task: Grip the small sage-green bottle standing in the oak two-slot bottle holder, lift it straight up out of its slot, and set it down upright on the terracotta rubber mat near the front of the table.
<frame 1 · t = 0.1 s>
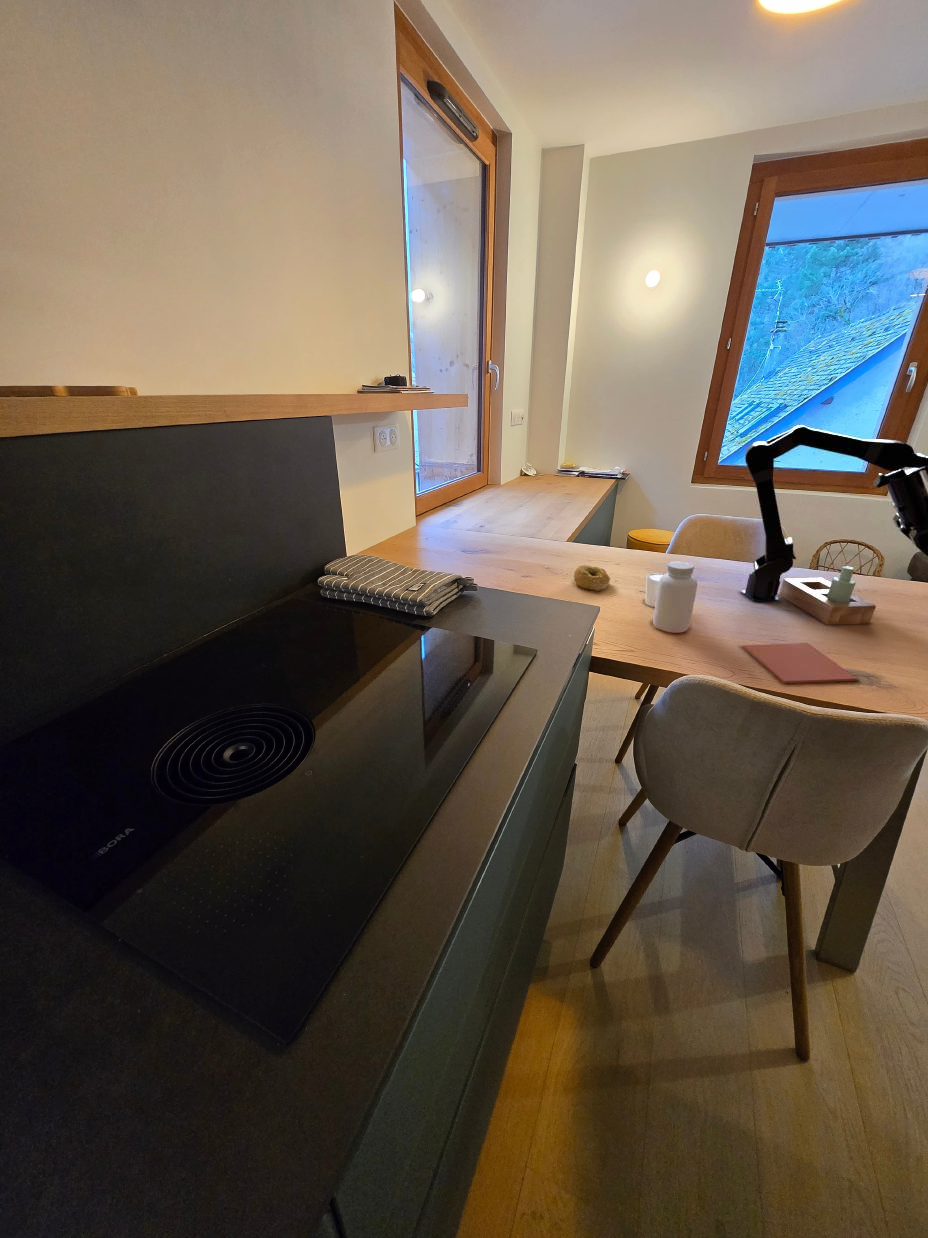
bagel: (591, 585, 138), on the table
mat: (796, 663, 99), on the table
bottle: (832, 614, 118), resting in holder
holder: (821, 608, 122), on the table
shot glass: (656, 603, 126), on the table
pill bottle: (670, 626, 114), on the table
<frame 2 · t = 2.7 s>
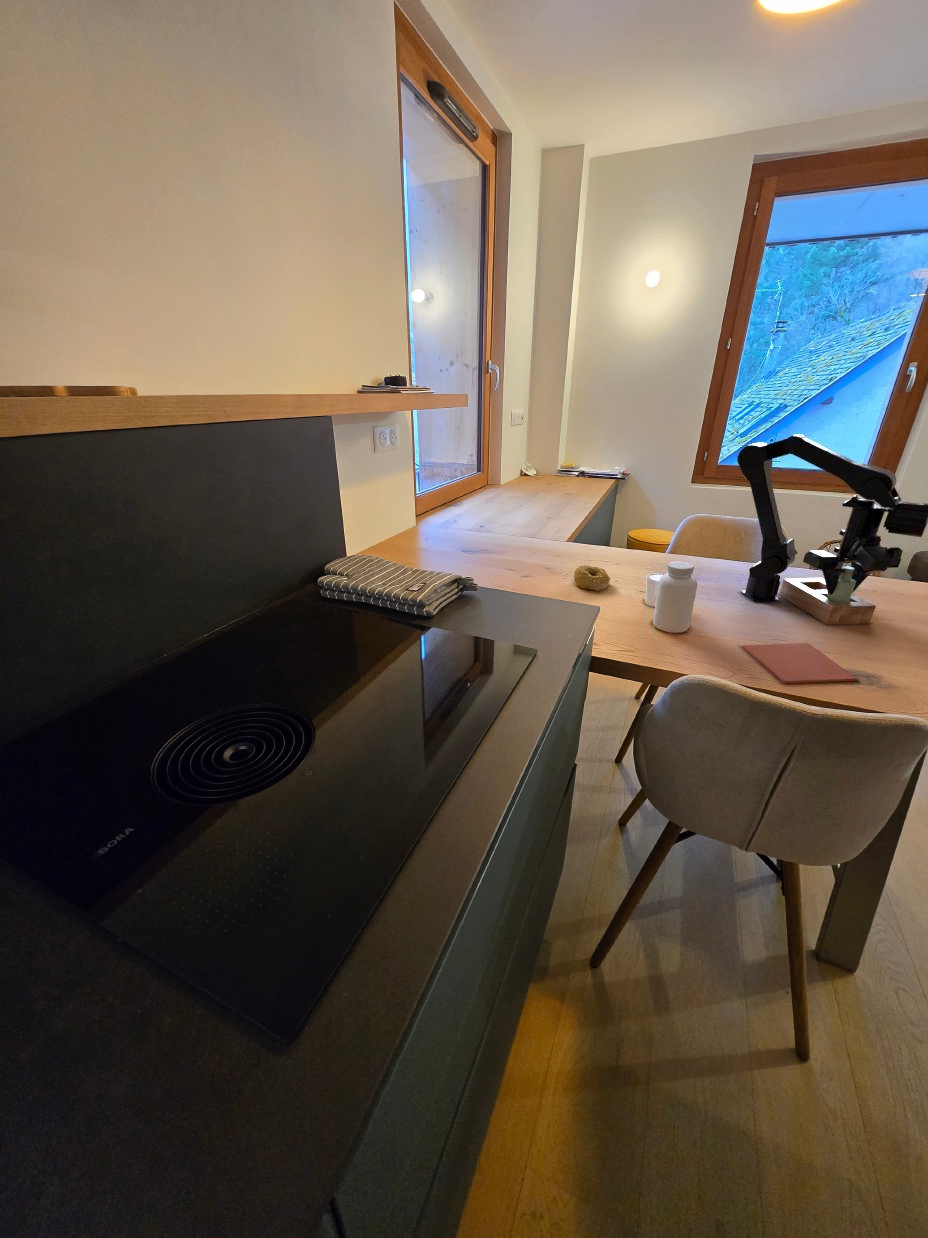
hand: (839, 593, 116), 6 cm above the table, tool pointing down, fingers closed on bottle, 4 cm apart
bottle: (832, 614, 118), resting in holder, touching gripper
everything else where it was.
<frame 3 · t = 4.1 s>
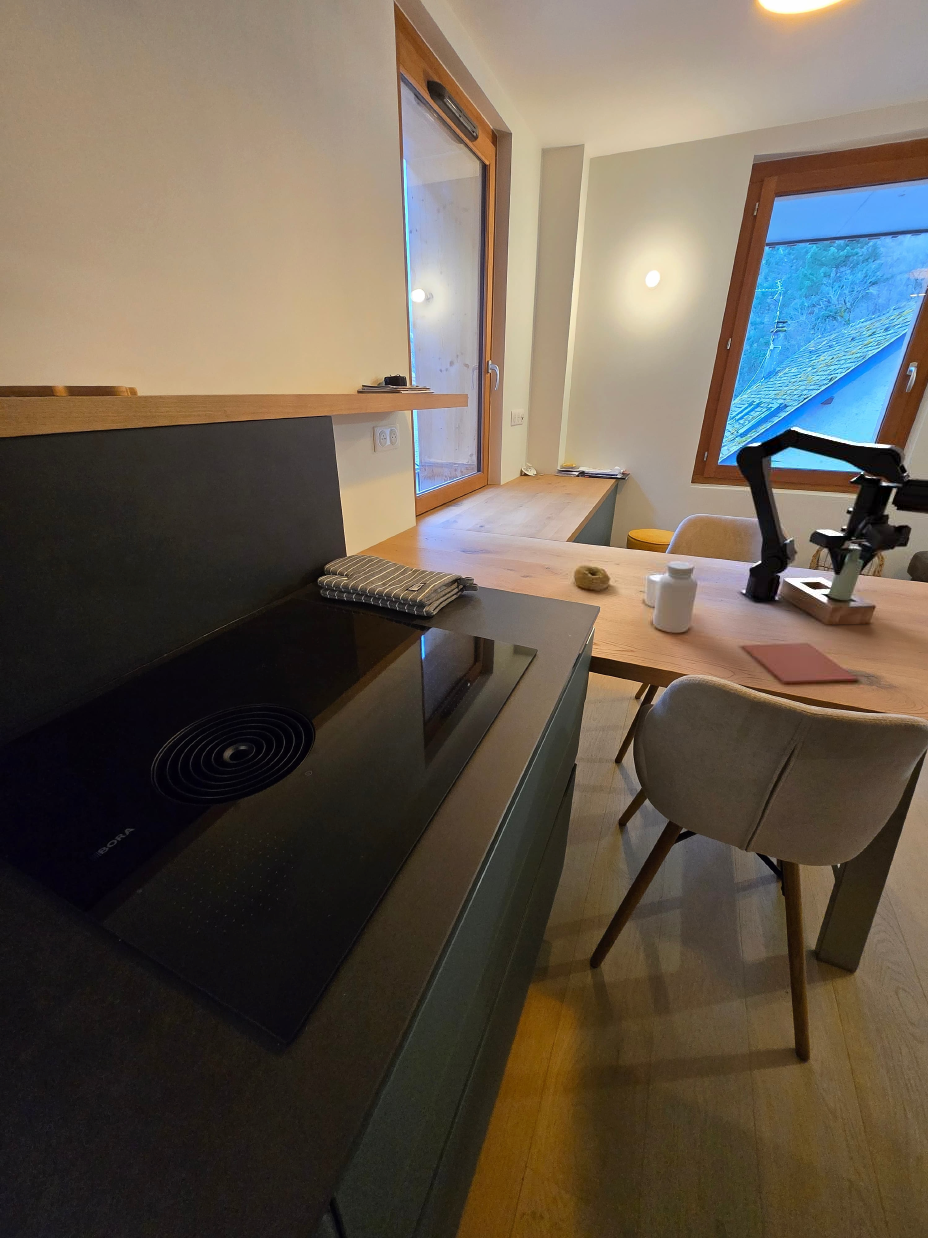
hand: (846, 574, 114), 10 cm above the table, tool pointing down, fingers closed on bottle, 4 cm apart
bottle: (839, 596, 116), point 5 cm above the table, touching gripper
everything else where it was.
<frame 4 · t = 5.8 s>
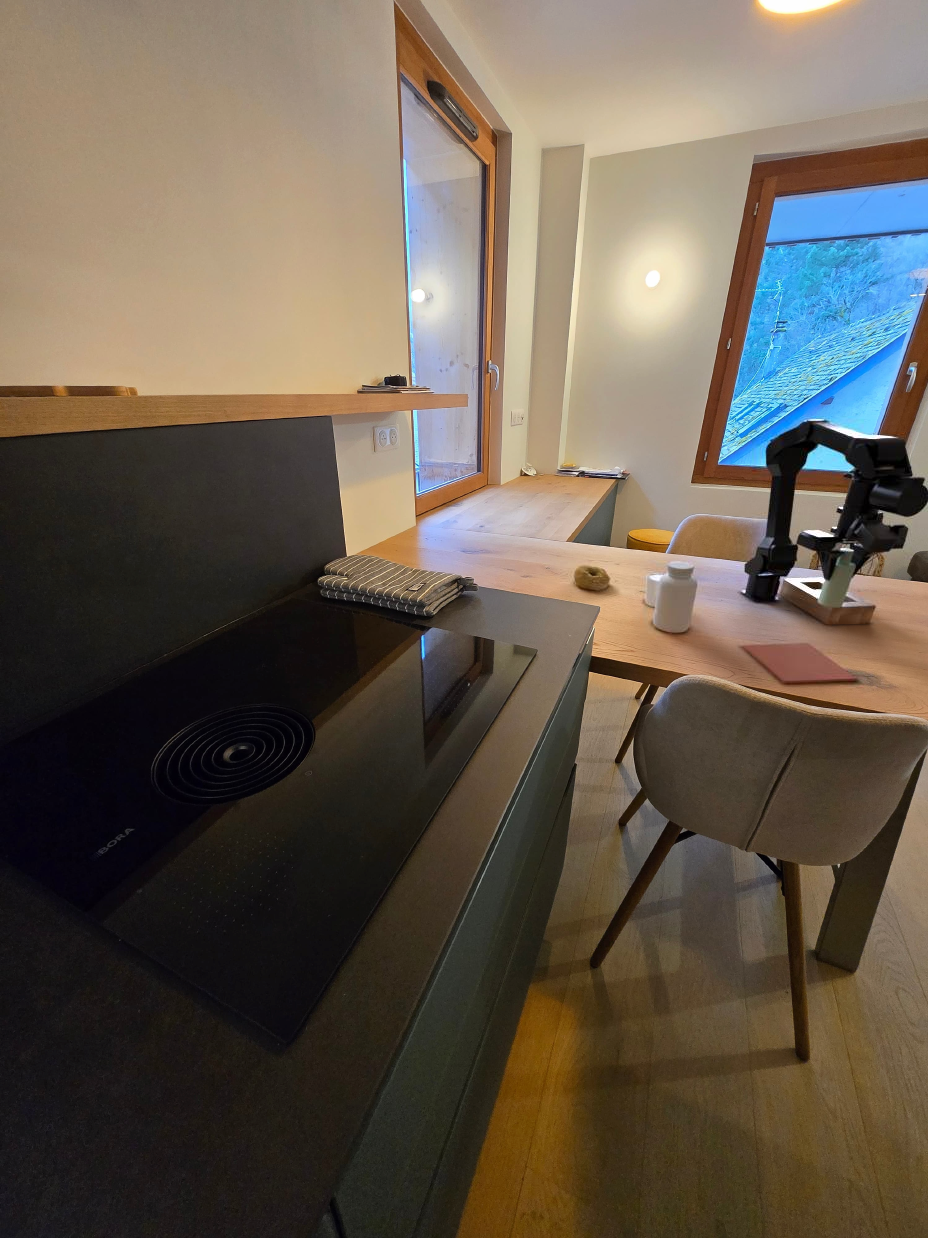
hand: (837, 579, 103), 13 cm above the table, tool pointing down, fingers closed on bottle, 4 cm apart
bottle: (829, 603, 106), point 8 cm above the table, touching gripper
everything else where it was.
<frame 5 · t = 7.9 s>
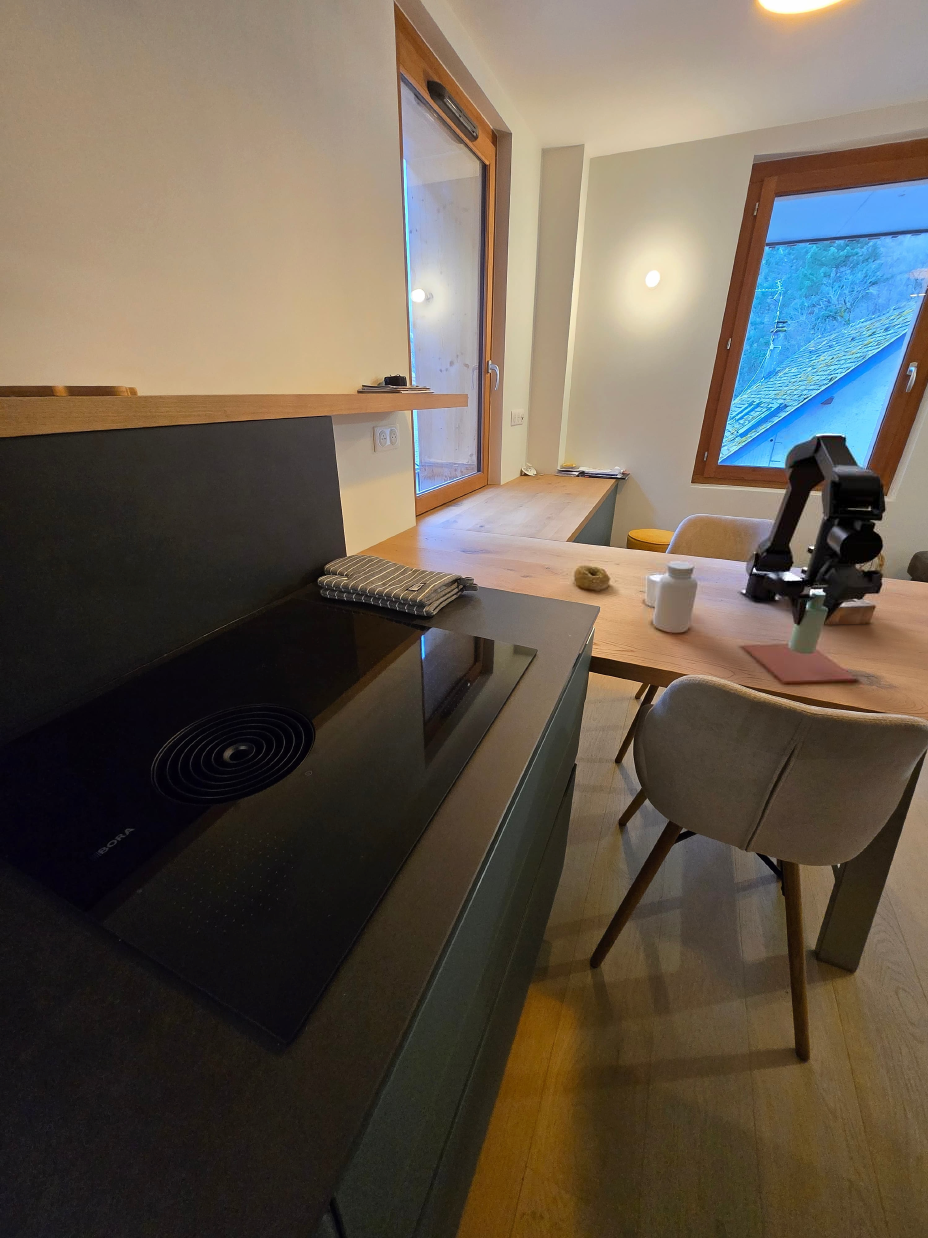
hand: (808, 623, 95), 9 cm above the table, tool pointing down, fingers closed on bottle, 4 cm apart
bottle: (800, 648, 97), point 3 cm above the table, touching gripper
everything else where it was.
when the fingers open (6 cm above the table, at t = 9.1 s): bottle stays where it is, resting on mat.
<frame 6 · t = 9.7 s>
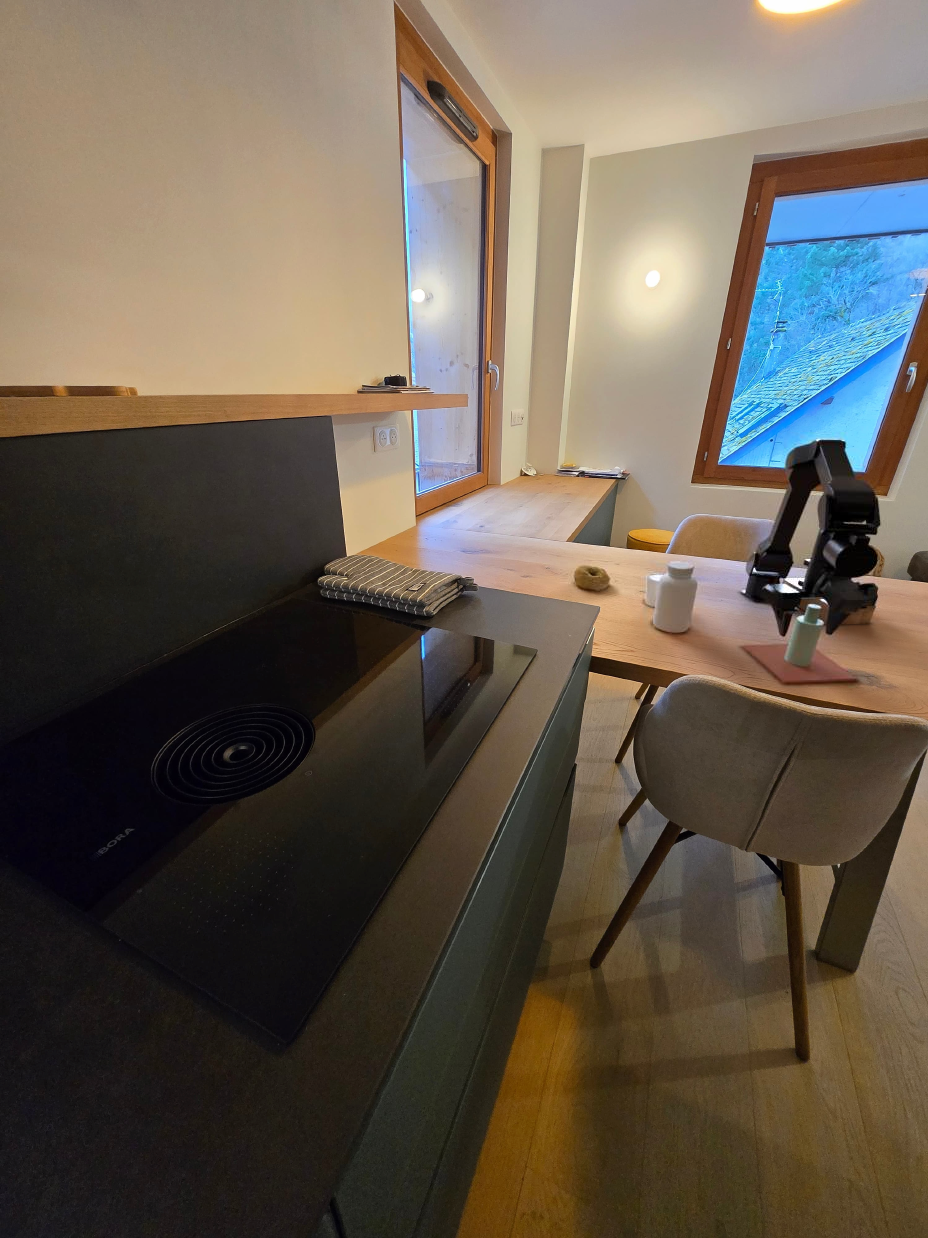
hand: (805, 635, 96), 6 cm above the table, tool pointing down, fingers open, 9 cm apart
bottle: (797, 660, 98), resting on mat
everything else where it was.
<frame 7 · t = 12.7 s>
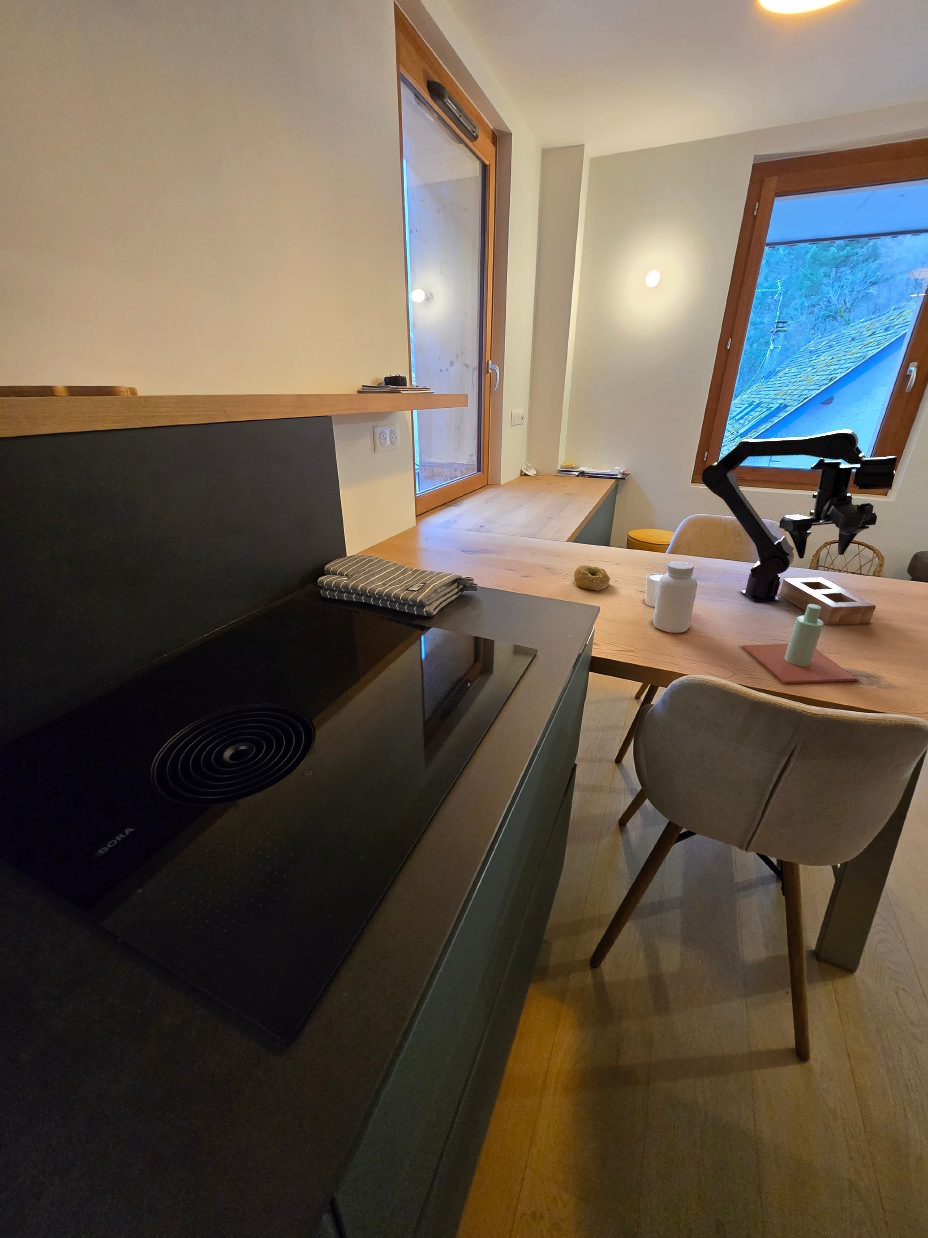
hand: (820, 556, 117), 13 cm above the table, tool pointing down, fingers open, 9 cm apart
nothing on the table moved.
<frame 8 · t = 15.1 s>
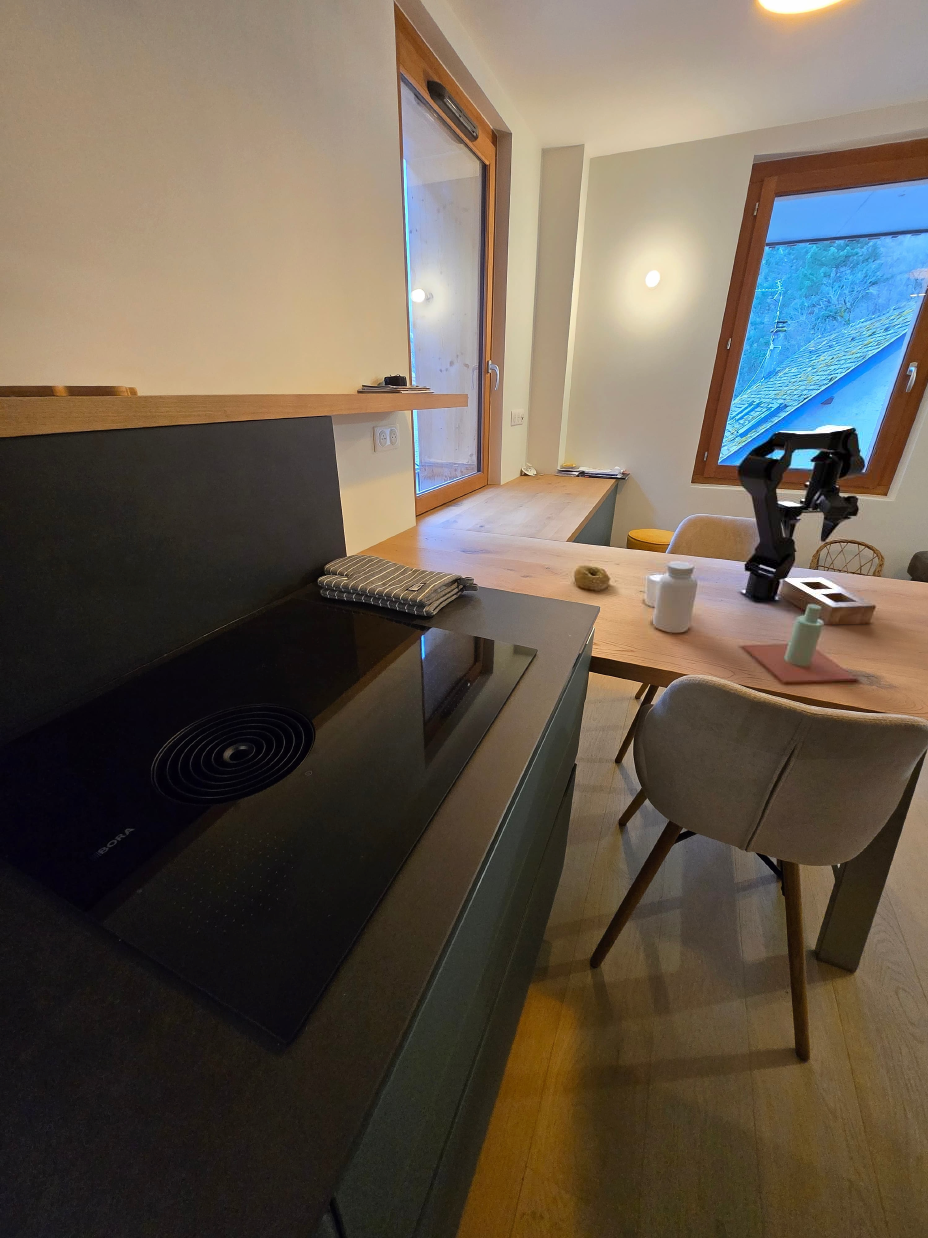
hand: (805, 542, 128), 13 cm above the table, tool pointing down, fingers open, 9 cm apart
nothing on the table moved.
at the end: bottle inside the target area on the mat (0.1 cm from its centre), point 0.5 cm above the mat's base; bottle tilted 0°; bottle touching mat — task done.
